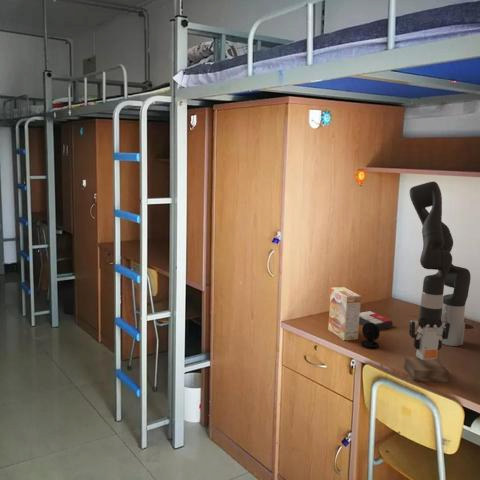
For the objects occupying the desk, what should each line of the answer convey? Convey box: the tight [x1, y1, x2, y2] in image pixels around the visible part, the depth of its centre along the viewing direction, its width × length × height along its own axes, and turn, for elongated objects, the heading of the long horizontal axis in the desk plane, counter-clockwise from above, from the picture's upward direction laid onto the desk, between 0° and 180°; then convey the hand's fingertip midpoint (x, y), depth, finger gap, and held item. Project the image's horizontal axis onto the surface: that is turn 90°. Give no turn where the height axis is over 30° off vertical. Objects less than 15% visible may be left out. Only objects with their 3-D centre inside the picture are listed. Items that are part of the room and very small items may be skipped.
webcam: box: [360, 322, 380, 350], centre depth 226 cm, size 8×8×10 cm
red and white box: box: [359, 310, 394, 331], centre depth 256 cm, size 11×4×15 cm
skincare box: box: [415, 325, 440, 360], centre depth 198 cm, size 6×4×12 cm
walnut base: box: [403, 357, 449, 383], centre depth 199 cm, size 12×12×4 cm
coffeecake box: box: [328, 286, 362, 341], centre depth 239 cm, size 15×7×20 cm, turn 18°
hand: (427, 348), depth 198 cm, fingers closed on skincare box, 7 cm apart
